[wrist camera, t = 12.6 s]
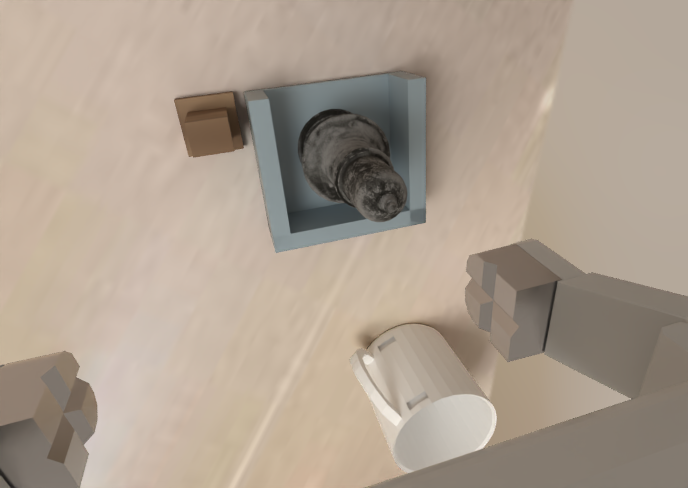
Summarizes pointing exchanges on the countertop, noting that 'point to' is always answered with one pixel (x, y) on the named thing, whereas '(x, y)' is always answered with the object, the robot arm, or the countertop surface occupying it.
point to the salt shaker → (351, 164)
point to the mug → (423, 397)
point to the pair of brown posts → (209, 124)
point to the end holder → (286, 169)
